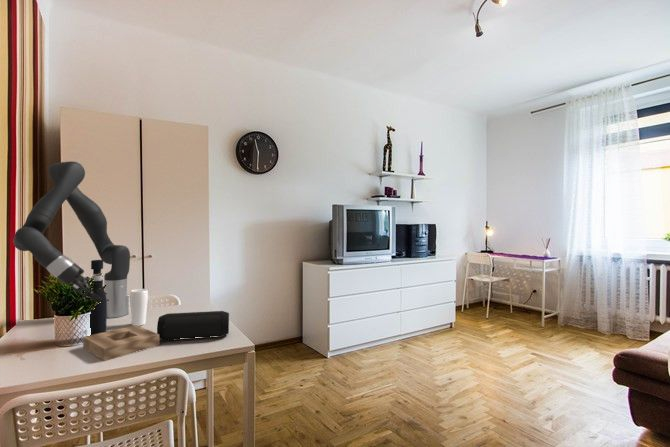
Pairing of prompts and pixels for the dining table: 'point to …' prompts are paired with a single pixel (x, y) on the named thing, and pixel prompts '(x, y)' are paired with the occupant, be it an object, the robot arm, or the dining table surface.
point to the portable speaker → (193, 325)
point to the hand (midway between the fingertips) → (101, 299)
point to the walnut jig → (120, 342)
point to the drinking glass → (138, 306)
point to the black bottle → (100, 310)
